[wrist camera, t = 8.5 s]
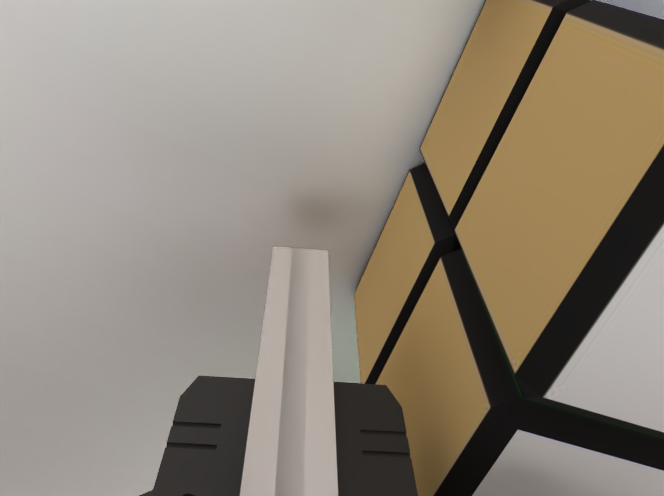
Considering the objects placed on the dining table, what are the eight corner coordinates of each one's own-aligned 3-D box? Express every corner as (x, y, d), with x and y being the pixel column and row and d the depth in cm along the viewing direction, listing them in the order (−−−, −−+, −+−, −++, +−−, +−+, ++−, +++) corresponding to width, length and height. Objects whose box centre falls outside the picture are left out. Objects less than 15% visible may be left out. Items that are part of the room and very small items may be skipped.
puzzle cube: (826, 108, 16) (1412, 325, 7) (620, 379, 21) (838, 715, 12) (495, -31, 15) (751, 40, 6) (349, 296, 19) (368, 617, 10)
